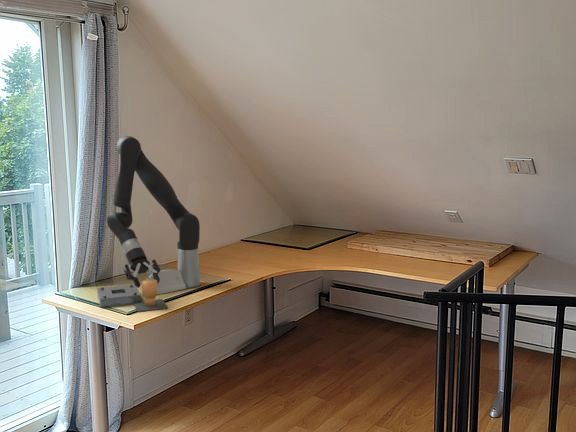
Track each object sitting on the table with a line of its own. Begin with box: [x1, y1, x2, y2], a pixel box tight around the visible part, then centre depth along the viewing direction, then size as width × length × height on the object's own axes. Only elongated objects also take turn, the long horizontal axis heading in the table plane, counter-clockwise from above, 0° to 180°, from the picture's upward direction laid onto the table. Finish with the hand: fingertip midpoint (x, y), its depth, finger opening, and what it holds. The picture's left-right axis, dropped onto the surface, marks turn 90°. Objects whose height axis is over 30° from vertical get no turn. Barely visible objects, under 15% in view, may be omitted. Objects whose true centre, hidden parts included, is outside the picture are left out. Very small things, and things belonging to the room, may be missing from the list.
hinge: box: [146, 269, 187, 295], centre depth 267 cm, size 17×5×10 cm, turn 128°
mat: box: [133, 298, 169, 313], centre depth 247 cm, size 12×12×1 cm
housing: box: [96, 284, 142, 308], centre depth 254 cm, size 16×16×4 cm
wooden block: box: [141, 278, 158, 306], centre depth 246 cm, size 6×6×10 cm
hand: (148, 284), depth 246 cm, fingers open, 8 cm apart
